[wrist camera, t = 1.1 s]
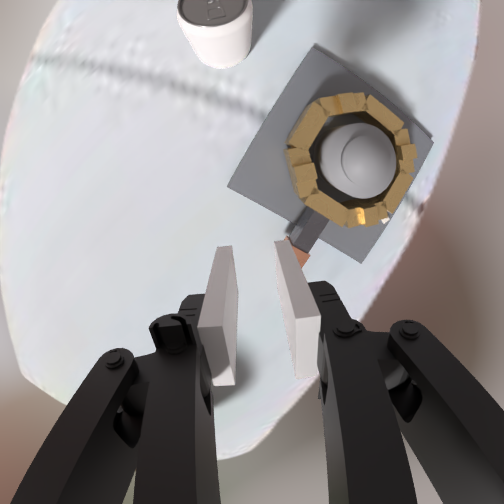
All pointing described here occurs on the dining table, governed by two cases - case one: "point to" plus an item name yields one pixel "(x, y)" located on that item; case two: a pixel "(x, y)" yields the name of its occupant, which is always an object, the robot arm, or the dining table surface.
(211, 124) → the dining table surface
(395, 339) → the robot arm
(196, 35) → the can
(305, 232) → the ring nut
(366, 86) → the base
